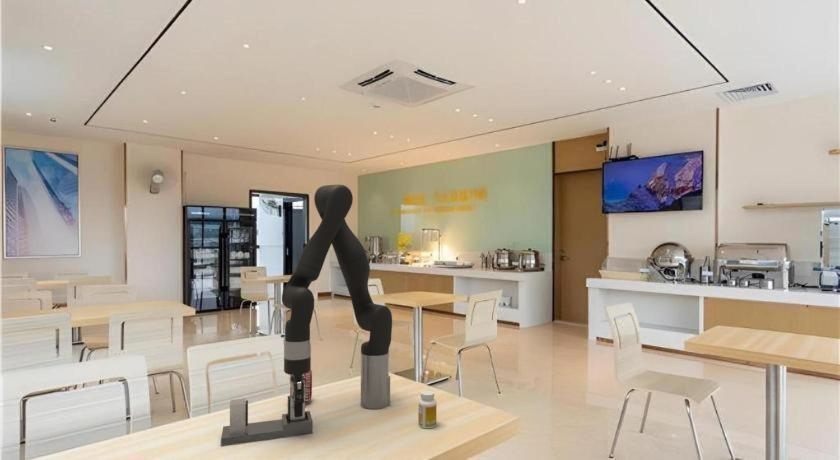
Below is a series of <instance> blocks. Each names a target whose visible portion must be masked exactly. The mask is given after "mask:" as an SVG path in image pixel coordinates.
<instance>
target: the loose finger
mask: <svg viewBox="0 0 840 460" xmlns="http://www.w3.org/2000/svg"><path fill="white" fill-rule="evenodd" d="M297 399H301V396H297ZM305 411H306V405H305V395H304V403H303V415H302V417H295V416H294V397H293V396H292V393H291V394H290V393H289V395H287V413H288V415H287V417H288V421H290V423H292V422H299V421H305Z"/></svg>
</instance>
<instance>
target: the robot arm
mask: <svg viewBox="0 0 840 460" xmlns="http://www.w3.org/2000/svg"><path fill="white" fill-rule="evenodd" d="M352 193H353V192H352V191H351V189H350V188H349V187H348V186H346V185H345V184H327V185H322V186H320V187H318V188H317V189H316V191H315V193H314V198H313V199H314V200H313V201H314V205H315V208H316V211H317V213H318V215H319V217H320V219H321V221H320V224H319V225H318V227H317V228H316V230H315V231H314V233H313V234H312V235H311V237H310V238H309V240H308V241H307V243H306V244H305V246H304V247H303V250H302V251H301V254H300V257H299V259H298V262H297V265H296V267H295V269H294V272H293V273H292V275H291V276H290V278H289V279H288V281H287V282H286V284H285V286H284V287H283V291H282V294H281V303H282V305H283V306H284V307H285V308H287V309H288V310H291V312H290V317H289V319H288V320H287V321H286V322H285V326H284V327H285V328H284V346H283V372H284V373H285V374H286V375H289V376H290V375H291V377H290V378H289V385H290V386H289V389H290V388H291V389H292V390H291V392H292V396H293V397H294V416H295V417H302V415H303V403H304V393H305V390H304V385H305V379H304V376H302V375H303V374H304V373H308V372H309V371H310V370H311V371H312V369H311V368H312V364H311V363H312V362H311V361H312V357H311V356H312V355H311V354H312V347H311V322H312V318H313V313H314V309H315V296H314V294H313V292H312V291H311V289H310V288H309V287H310V285H311V284H312V282H315V281H317V280H318V279H319V277H320V275H321V272H322V269H323V266H324V263H325V260H326V258H327V256H328V252H329V251H330V247H331V246H332V249H333V251H334V253H335V256H336V259H337V263H338V266H339V268H340V271H341V274H342V277H343V279H344V282H345V285H346V288H347V291H348V293H349V296H350V300H351V303H352V308H353V309H352V310H353V313H354V317H355V320H356V323H357V325H358V327H359V328H360V329H362V330H363V331H366V332H369V340H368V341H365V342H363V343H362V344H361V346H360V399H359V400H360V406H361V407H362V408H364V409H369V410H377V409H378V410H379V409H383V408H386V407H389V406H391V375H390V374H389V372H390V371H389V367H390V366H389V363H390V361H389V357H390V356H389V352H390V346H391V344H392V343H391V342H392V334H393V333H392V331H393V330H392V329H393V315H392V314H393V313H392V312H391V309H390V308H389V307H388V306H386V305H382V304H378V303H377V304H376V303H374V301H373V300H372V297H371V294H370V291H369V286H368V285H369V278H370V273H371V272H370V271H371V266H370V262H369V258H368V256H367V253H366V249H365V248H364V246H363V244H362V243H361V241H360V240H359V238H358V237H357V236H356V235H355V233H354V232H353V231H352V230H351V228H350V227H349V225H348V223H347V220H346V217H347V215H348V214H349V212H350V210H351V208H352V205H353V200H354V197H353V194H352ZM297 396H301V399H297Z"/></svg>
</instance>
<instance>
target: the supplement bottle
mask: <svg viewBox="0 0 840 460" xmlns="http://www.w3.org/2000/svg"><path fill="white" fill-rule="evenodd" d="M417 409H418V414H417V415H418V426H419V427H420V428H422V429H432V428H433V427H434V428H435V427H436V426H437V400H436V399H435V392H434V391H433V390H422V391H421V392H420V399H419V400H418V408H417ZM434 428H433V429H434Z"/></svg>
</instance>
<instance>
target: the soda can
mask: <svg viewBox="0 0 840 460" xmlns="http://www.w3.org/2000/svg"><path fill="white" fill-rule="evenodd" d="M289 376H290V377H291V375H289ZM302 376H304V379H305V385H304V390H305V393H304V395H305V406H306V405H308V404H309V403H310V402H312V399H313V398H312V396H313V371H312V369H311V370H310V371H309V372H308V373H304V374H303V375H302ZM291 390H292V389H291V388H290V387H289V395H290V394H291V393H292V392H291Z"/></svg>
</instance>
